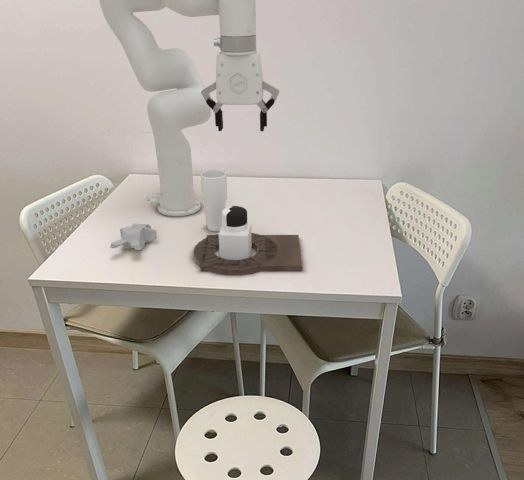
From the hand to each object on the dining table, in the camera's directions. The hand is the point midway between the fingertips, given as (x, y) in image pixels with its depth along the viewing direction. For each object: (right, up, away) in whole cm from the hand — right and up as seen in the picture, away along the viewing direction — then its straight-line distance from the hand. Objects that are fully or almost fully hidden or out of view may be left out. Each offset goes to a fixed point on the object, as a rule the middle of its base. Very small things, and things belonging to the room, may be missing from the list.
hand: (241, 129), depth 124 cm
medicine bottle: (-2, -27, +11) cm, 29 cm away
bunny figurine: (-28, -24, +15) cm, 40 cm away
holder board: (+1, -27, +10) cm, 29 cm away
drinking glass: (-8, -18, +23) cm, 30 cm away
